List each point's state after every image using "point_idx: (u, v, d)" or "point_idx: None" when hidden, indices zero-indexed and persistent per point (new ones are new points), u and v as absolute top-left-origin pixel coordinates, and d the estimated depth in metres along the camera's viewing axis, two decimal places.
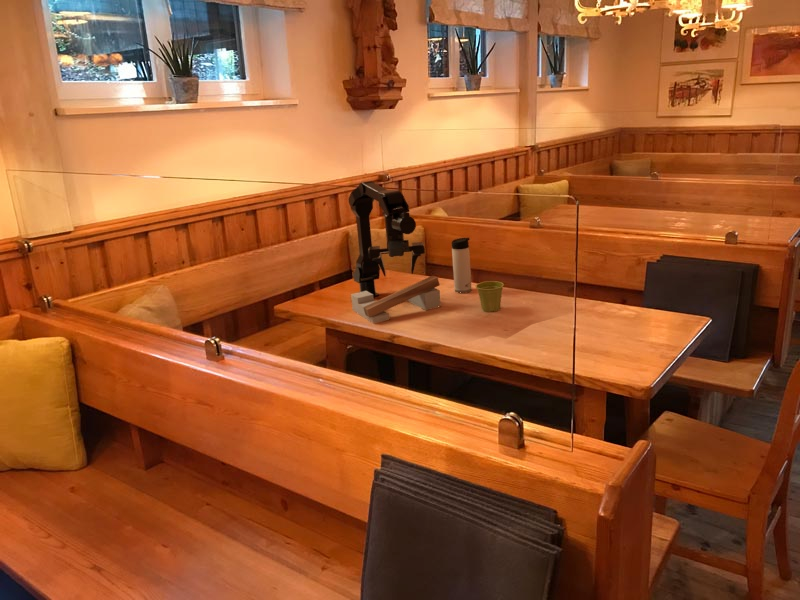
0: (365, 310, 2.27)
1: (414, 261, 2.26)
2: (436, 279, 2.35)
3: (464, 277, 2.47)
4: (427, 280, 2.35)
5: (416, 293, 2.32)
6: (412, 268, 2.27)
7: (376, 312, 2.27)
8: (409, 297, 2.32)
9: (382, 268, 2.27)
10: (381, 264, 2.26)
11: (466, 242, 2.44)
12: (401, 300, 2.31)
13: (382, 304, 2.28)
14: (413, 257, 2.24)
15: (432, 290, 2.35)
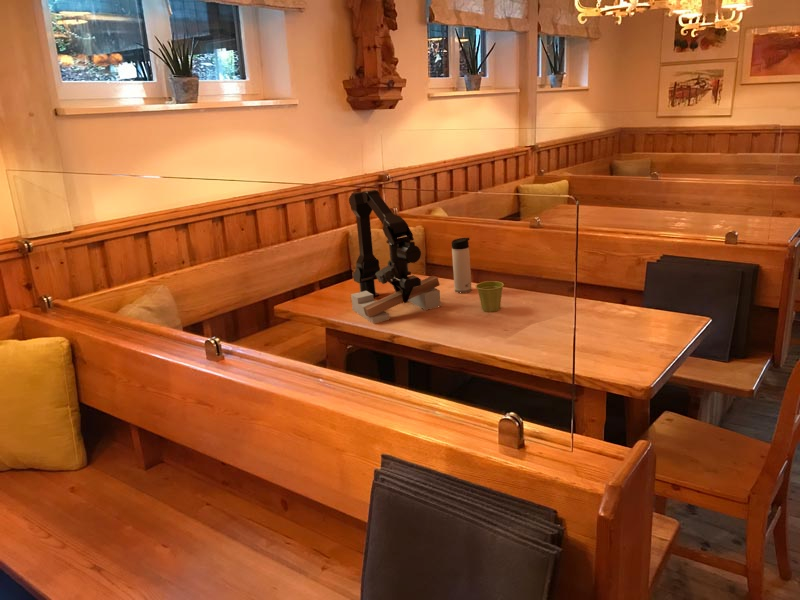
0: (365, 310, 2.27)
1: (402, 291, 2.28)
2: (436, 279, 2.35)
3: (464, 277, 2.47)
4: (427, 280, 2.35)
5: (416, 293, 2.32)
6: (402, 297, 2.30)
7: (376, 312, 2.27)
8: (409, 297, 2.32)
9: None
10: (394, 288, 2.33)
11: (466, 242, 2.44)
12: (401, 300, 2.31)
13: (382, 304, 2.28)
14: (398, 287, 2.28)
15: (432, 290, 2.35)
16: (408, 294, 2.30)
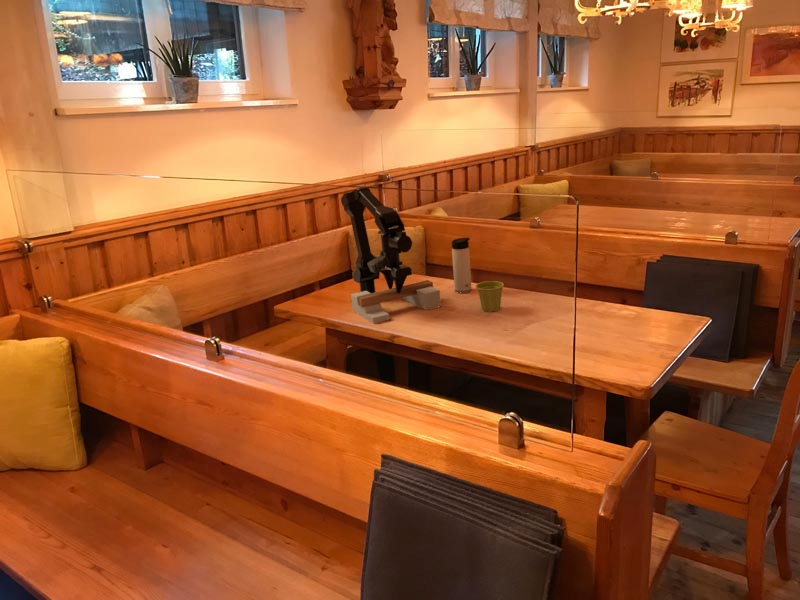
0: (358, 299, 2.32)
1: (395, 282, 2.32)
2: (431, 283, 2.41)
3: (464, 277, 2.47)
4: (422, 283, 2.41)
5: (410, 293, 2.38)
6: (396, 288, 2.33)
7: (369, 304, 2.32)
8: (402, 295, 2.37)
9: (386, 281, 2.39)
10: (385, 277, 2.39)
11: (466, 242, 2.44)
12: (395, 297, 2.36)
13: (376, 296, 2.33)
14: (391, 277, 2.31)
15: (432, 290, 2.35)
16: (401, 284, 2.33)
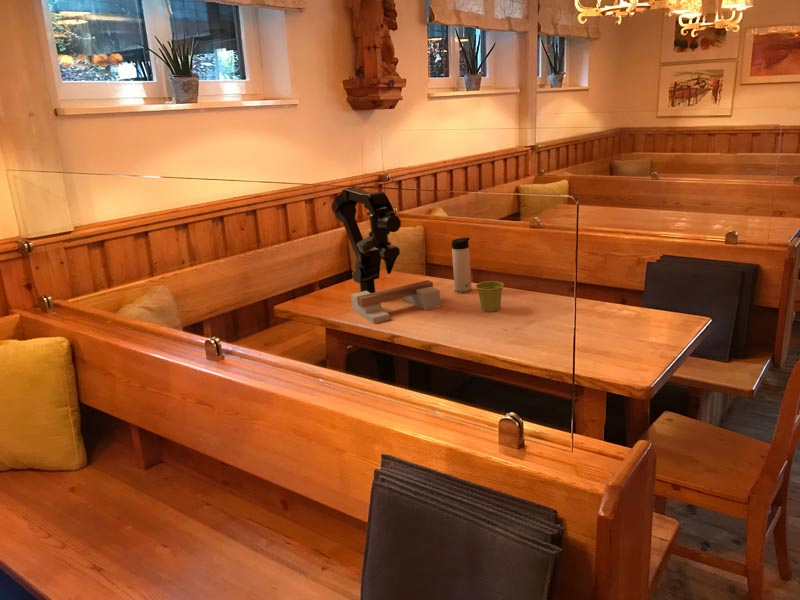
0: (358, 299, 2.32)
1: (385, 262, 2.36)
2: (431, 283, 2.41)
3: (464, 277, 2.47)
4: (422, 283, 2.41)
5: (410, 293, 2.38)
6: (386, 268, 2.37)
7: (369, 304, 2.32)
8: (402, 295, 2.37)
9: (373, 261, 2.46)
10: (372, 257, 2.45)
11: (466, 242, 2.44)
12: (395, 297, 2.36)
13: (376, 296, 2.33)
14: (382, 258, 2.35)
15: (432, 290, 2.35)
16: (391, 265, 2.37)
